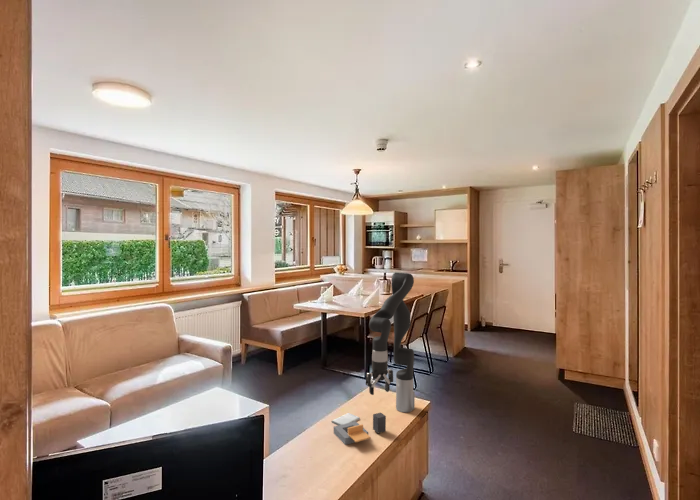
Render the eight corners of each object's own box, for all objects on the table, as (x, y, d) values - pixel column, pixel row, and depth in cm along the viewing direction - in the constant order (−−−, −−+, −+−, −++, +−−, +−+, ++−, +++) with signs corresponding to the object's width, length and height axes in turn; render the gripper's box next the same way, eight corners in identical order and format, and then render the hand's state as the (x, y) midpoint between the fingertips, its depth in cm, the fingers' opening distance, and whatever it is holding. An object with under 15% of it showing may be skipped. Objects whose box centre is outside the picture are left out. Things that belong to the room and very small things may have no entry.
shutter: (362, 430, 171) (362, 424, 171) (370, 438, 164) (370, 431, 164) (347, 434, 168) (347, 427, 168) (355, 442, 161) (355, 435, 161)
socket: (355, 427, 181) (355, 421, 181) (368, 438, 171) (368, 432, 171) (333, 433, 176) (333, 426, 176) (345, 444, 165) (345, 438, 165)
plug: (380, 428, 180) (380, 412, 180) (385, 432, 176) (385, 416, 176) (372, 430, 178) (373, 414, 178) (377, 434, 174) (377, 418, 174)
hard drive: (343, 425, 181) (359, 417, 190) (331, 420, 186) (347, 412, 196) (343, 429, 181) (359, 420, 190) (331, 423, 186) (347, 415, 196)
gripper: (371, 363, 170) (370, 398, 170) (396, 359, 177) (396, 393, 177) (363, 359, 177) (362, 392, 177) (387, 355, 184) (387, 387, 184)
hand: (379, 392), depth 177 cm, fingers open, 8 cm apart
